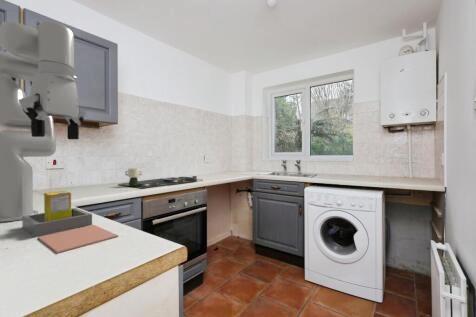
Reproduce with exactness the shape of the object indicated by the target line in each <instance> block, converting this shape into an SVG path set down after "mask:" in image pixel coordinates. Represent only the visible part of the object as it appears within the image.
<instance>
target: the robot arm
mask: <svg viewBox="0 0 476 317" xmlns="http://www.w3.org/2000/svg"><path fill="white" fill-rule="evenodd" d="M0 47H1V48H2V50H4V51H2V50H0V126H1V127H2V128H8V129H5V130H0V223H5V222H14V221H15V222H16V221H21V220H22V216H27V215H33V214H39V211H38V210H36V209H35V210H34V192H33V191H34V190H33V189H34V188H33V186H34V184H33V183H34V182H33V181H34V180H33V179H34V178H33V177H34V176H33V175H34V173H33V172H34V170H33V167H32V166H31V164H30V163H29V162H28V161H26V159H24V158H28V157H29V158H30V157H31V158H35V157H36V158H37V157H41V158H43V157H44V158H45V157H46V158H47V157H51V156H54V154H55V153H56V150H57V140H56V133H55V125H54V124H55V123H54V118H59V119H65V121H66V122H68V125H67V126H66V127H67V129H66V130H67V135H66V136H67V139H68V140H80V139H79V138H80V132H79V131H80V128H79V127H80V126H81V125H82V122H83V121H84V119H85V117H86V114H87V113H86V111H84V110H83V109H82V108H81V107H80V106H79V95H78V88H77V85H76V82H75V81H76V78H77V77H76V76H75V35H74V32H73V31H72V30H71V29H70V28H69V27H67V26H66V25H64V24H61V23H59V22H55V21H50V20H45V21H41V22H40V23H39V24H38V26H37V28H34V27H32V26H28V25H25V24H23V23H21V22H16V21H12V20H5V21H2V22H1V24H0ZM12 78H14V79H16V80H17V79H19V80H23V81H28V82H31V87H30V95H29V96H26V93H25V91H24V89H23V88H22V87H21V86H20V85H19V84H18V83H17V82H15V80H13V79H12ZM11 129H12V130H11ZM14 129H15V130H14ZM16 129H17V130H16Z"/></svg>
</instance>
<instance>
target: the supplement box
mask: <svg viewBox="0 0 476 317" xmlns="http://www.w3.org/2000/svg"><path fill="white" fill-rule="evenodd" d="M43 193H44V194H43V198H44V199H43V200H44V203H43V205H44V207H43V210H44V212H43V213H44V214H45V222H47V221H53V220H58V219H64V218H69V217H71V209H72V192H70V191H68V190H61V191H60V190H58V191H51V192H49V191H48V192H43Z"/></svg>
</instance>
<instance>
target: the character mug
mask: <svg viewBox="0 0 476 317" xmlns="http://www.w3.org/2000/svg"><path fill="white" fill-rule="evenodd" d="M142 174H143V172H142V170H140V168H138V167H136V168H135V167H134V168H133V167H131V168H130V167H129V168H128V169H127V170H125V176H127V177H128V178H129V183H128V186H129V187H137V186H139V179H138V178H139V177H140V176H142Z"/></svg>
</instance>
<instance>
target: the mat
mask: <svg viewBox="0 0 476 317" xmlns="http://www.w3.org/2000/svg"><path fill="white" fill-rule="evenodd" d="M118 237H119V235H118V234H116V233H114V232H112V231H109V230H107V229H104V228H102V227H101V226H100V227H99V225H95V224H92V225H89V226H84V227H80V228H75V229H70V230H66V231H61V232H57V233H52V234H47V235H43V236H38V237H37V239H38V240H40V241H41V242H42V243H44V244H45V245H46V246H47V247H48V246H49V248H50V249H51V250H52V251H54V252H55V253H56V254H61V253H65V252H68V250H69V251H71V250H75V249H74V248H76V249H78V247H79V248H83V247H86V246H90V245H92V244H96V243H101V242H103V241H104V242H105V241H107V239H108V240H112V239H114V238H115V239H116V238H118ZM111 238H112V239H111ZM89 244H90V245H89ZM82 246H83V247H82Z"/></svg>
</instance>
